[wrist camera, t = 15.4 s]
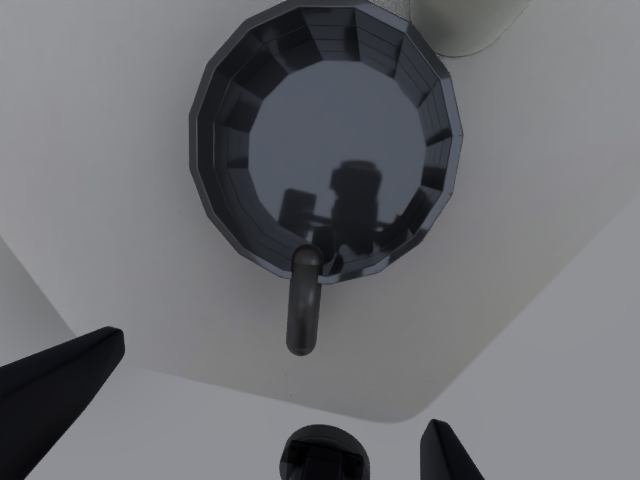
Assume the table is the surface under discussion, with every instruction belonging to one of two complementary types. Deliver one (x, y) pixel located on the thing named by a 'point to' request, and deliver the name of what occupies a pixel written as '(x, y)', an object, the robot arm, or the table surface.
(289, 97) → the pan
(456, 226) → the table surface
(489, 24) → the leek
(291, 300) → the pan handle
